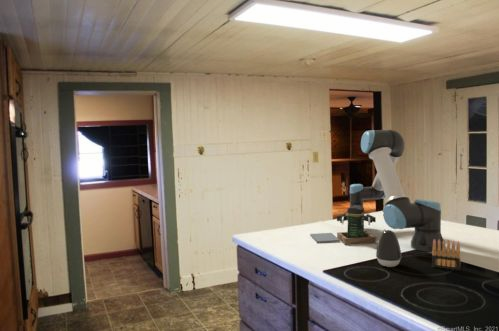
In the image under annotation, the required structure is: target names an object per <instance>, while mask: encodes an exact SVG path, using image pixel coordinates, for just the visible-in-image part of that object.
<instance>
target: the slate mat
mask: <svg viewBox="0 0 499 331" xmlns="http://www.w3.org/2000/svg"><path fill="white" fill-rule="evenodd" d="M310 237H311V238H312V239H313V240H314V242H316V243H317V244H327V243H340V242H341V241H340V240H339V239H338V238H337V235H335V234H333V232H323V233H320V232H319V233H310Z"/></svg>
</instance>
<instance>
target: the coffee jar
mask: <svg viewBox="0 0 499 331" xmlns="http://www.w3.org/2000/svg"><path fill="white" fill-rule="evenodd" d="M346 215H347V216H348V220H347V231H346V232H347V238H361V237H364V231H365V221H364V215H365V207H364V206H363V207H362V206H360V205H354V206H352V207H350V206H349V207H347V212H346Z"/></svg>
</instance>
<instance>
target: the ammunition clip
mask: <svg viewBox="0 0 499 331" xmlns="http://www.w3.org/2000/svg"><path fill="white" fill-rule="evenodd" d="M460 246H461V245H460V242H459V241H457V242H456V244H455V241H454V240H452V242H450V240H447V243H446V240H445V239H443V244H442V251H441V242H440V239H439V240H438V246H437V249H436V241H435V239H434V241H433V248H432V251H431V252H432V254H431V255H432V256H431V268H433V267H441V268H451V269H460V268H461V265H462V264H461V247H460ZM441 268H440V269H441ZM461 269H462V268H461Z"/></svg>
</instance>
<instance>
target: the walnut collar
mask: <svg viewBox="0 0 499 331" xmlns="http://www.w3.org/2000/svg"><path fill="white" fill-rule="evenodd" d="M336 233H337V234H336V237H337V238H338V239H339V240H340V242H342V243H343V244H344V245H345V246H350V245H366V244H370V245H371V244H376V243H377V237H376V236H375V235H373V234H371V233H370V232H368V231H367V230H364V237H361V238H347V231H343V232H341V231H339V232H336Z"/></svg>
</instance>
